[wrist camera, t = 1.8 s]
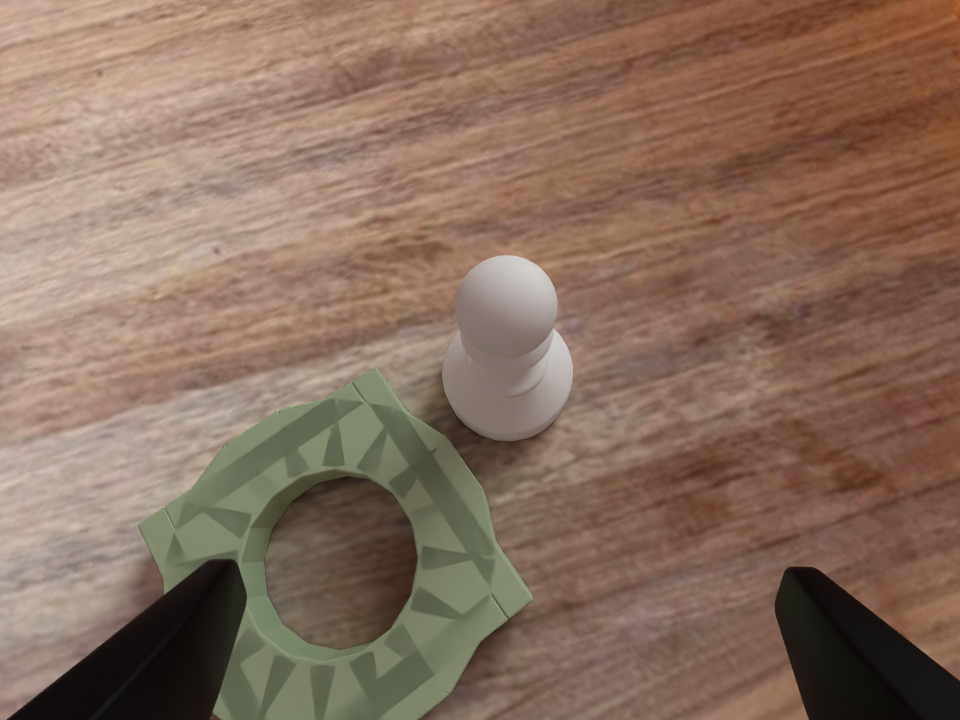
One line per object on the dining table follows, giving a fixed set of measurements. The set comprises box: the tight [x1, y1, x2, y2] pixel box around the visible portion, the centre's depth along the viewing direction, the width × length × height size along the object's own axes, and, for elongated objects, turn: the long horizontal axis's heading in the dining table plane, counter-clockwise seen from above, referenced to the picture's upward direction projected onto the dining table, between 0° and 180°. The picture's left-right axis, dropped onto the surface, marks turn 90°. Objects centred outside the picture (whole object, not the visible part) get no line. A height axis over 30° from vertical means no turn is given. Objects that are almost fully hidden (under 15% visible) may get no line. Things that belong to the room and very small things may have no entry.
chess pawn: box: [442, 255, 573, 441], centre depth 18 cm, size 5×5×9 cm
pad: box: [138, 367, 533, 720], centre depth 20 cm, size 11×11×2 cm
